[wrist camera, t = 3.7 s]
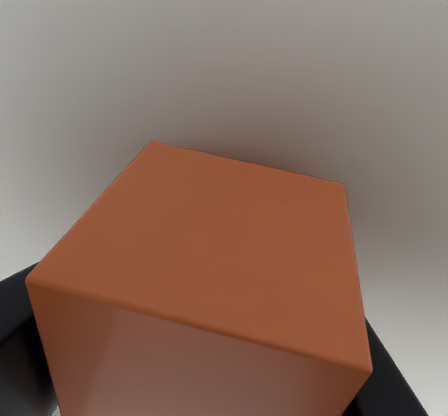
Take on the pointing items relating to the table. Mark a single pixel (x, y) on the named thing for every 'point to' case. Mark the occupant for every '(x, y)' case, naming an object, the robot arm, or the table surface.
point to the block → (204, 294)
